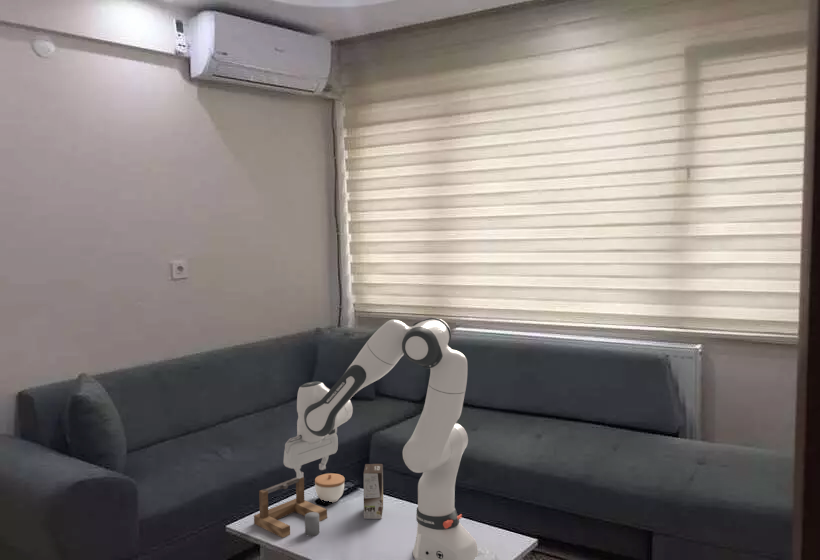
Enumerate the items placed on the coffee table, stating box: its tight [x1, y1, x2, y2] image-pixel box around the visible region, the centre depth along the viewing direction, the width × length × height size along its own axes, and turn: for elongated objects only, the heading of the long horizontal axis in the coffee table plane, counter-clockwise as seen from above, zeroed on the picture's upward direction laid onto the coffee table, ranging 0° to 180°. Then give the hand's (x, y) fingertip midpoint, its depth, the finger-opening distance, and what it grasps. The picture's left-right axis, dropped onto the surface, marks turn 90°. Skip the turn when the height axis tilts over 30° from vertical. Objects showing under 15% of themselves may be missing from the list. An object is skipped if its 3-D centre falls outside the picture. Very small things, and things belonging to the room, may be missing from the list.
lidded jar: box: [314, 472, 346, 504], centre depth 249 cm, size 11×11×9 cm
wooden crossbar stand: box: [253, 476, 328, 539], centre depth 231 cm, size 15×19×12 cm
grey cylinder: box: [304, 512, 320, 537], centre depth 223 cm, size 5×5×6 cm
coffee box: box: [363, 463, 384, 520], centre depth 237 cm, size 9×6×16 cm
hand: (311, 473), depth 221 cm, fingers open, 8 cm apart
